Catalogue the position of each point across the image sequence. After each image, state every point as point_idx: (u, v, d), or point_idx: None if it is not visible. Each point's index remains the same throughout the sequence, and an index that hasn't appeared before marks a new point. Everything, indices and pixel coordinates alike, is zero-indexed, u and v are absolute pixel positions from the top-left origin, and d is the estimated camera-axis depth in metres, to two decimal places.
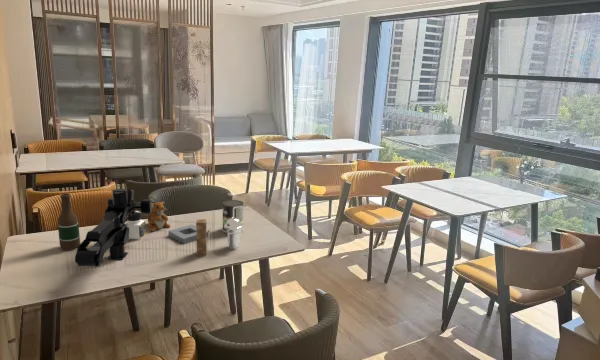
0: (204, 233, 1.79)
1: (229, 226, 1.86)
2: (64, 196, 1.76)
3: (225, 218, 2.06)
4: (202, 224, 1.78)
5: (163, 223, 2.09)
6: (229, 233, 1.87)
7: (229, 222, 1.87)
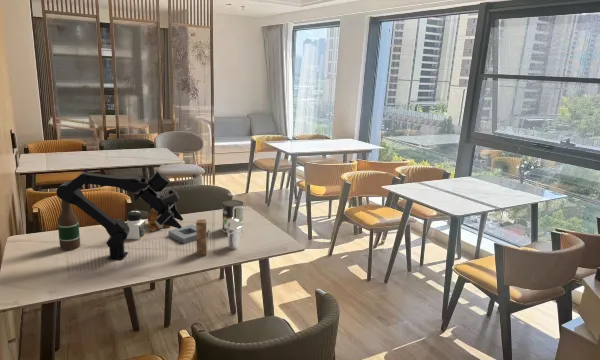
0: (204, 233, 1.79)
1: (229, 226, 1.86)
2: None
3: (225, 218, 2.06)
4: (202, 224, 1.78)
5: None
6: (229, 233, 1.87)
7: (229, 222, 1.87)
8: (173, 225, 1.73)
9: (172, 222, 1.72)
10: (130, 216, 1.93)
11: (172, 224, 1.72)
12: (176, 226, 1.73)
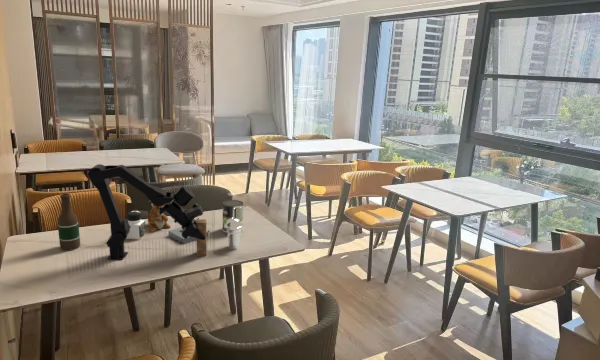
0: (204, 233, 1.79)
1: (229, 226, 1.86)
2: (64, 196, 1.76)
3: (225, 218, 2.06)
4: (202, 224, 1.78)
5: (163, 223, 2.09)
6: (229, 233, 1.87)
7: (229, 222, 1.87)
8: (197, 237, 1.78)
9: (196, 234, 1.77)
10: (130, 216, 1.93)
11: (196, 236, 1.77)
12: (200, 237, 1.78)
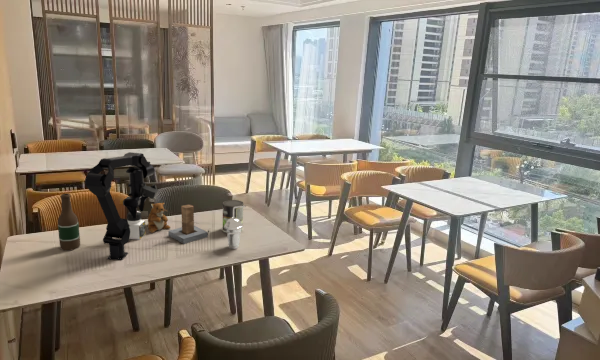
0: (192, 216, 1.98)
1: (229, 226, 1.86)
2: (64, 196, 1.76)
3: (225, 218, 2.06)
4: (190, 208, 1.97)
5: (163, 224, 2.08)
6: (229, 233, 1.87)
7: (229, 222, 1.87)
8: (131, 212, 1.83)
9: (133, 209, 1.83)
10: (130, 216, 1.93)
11: (131, 211, 1.83)
12: (132, 214, 1.84)
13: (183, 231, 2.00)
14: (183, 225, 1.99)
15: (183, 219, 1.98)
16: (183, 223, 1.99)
